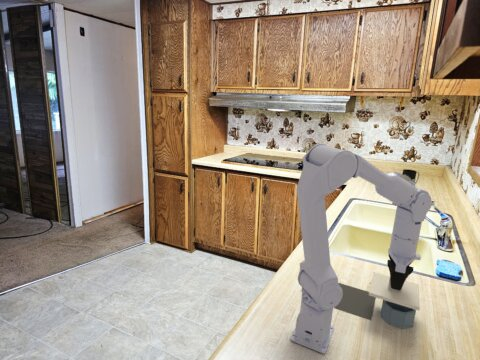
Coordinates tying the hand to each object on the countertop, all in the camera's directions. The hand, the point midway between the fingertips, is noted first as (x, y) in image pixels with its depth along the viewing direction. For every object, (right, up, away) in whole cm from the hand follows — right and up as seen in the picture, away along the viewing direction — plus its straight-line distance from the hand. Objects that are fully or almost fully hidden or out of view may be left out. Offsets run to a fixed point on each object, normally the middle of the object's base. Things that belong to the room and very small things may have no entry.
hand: (395, 285), depth 79 cm
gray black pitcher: (+67, +18, +120) cm, 138 cm away
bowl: (+1, -9, +1) cm, 9 cm away
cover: (0, -2, +1) cm, 2 cm away
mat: (-9, -7, +8) cm, 14 cm away
